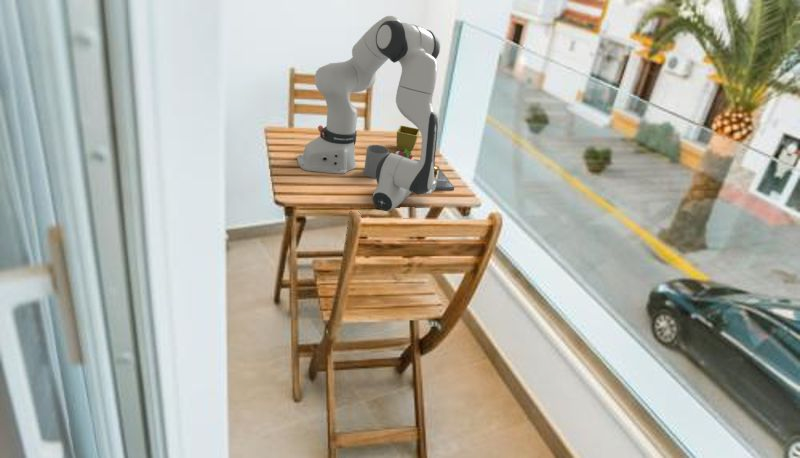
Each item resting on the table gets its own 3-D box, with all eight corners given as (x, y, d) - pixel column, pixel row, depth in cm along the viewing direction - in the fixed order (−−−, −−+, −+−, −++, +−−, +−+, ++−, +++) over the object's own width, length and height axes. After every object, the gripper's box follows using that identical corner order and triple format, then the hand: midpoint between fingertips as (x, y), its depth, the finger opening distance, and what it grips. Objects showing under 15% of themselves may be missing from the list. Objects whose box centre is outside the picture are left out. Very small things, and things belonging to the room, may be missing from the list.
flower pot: (413, 155, 221) (417, 135, 216) (393, 151, 222) (396, 131, 217) (416, 148, 229) (420, 129, 224) (397, 144, 229) (400, 125, 225)
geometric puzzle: (411, 156, 214) (403, 142, 209) (419, 163, 209) (411, 149, 204) (397, 166, 214) (389, 152, 208) (404, 173, 209) (396, 159, 203)
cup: (366, 177, 195) (369, 153, 190) (361, 168, 201) (364, 144, 196) (387, 178, 197) (391, 154, 192) (382, 169, 204) (386, 145, 199)
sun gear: (422, 177, 203) (424, 168, 201) (416, 169, 209) (418, 160, 207) (440, 177, 205) (442, 168, 203) (433, 169, 211) (435, 160, 209)
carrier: (424, 189, 194) (426, 180, 192) (410, 170, 207) (412, 161, 205) (453, 189, 198) (455, 181, 196) (438, 170, 211) (440, 162, 209)
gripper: (430, 186, 174) (443, 172, 186) (376, 168, 180) (392, 156, 191) (427, 202, 178) (440, 188, 189) (373, 184, 183) (389, 171, 194)
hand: (415, 172), depth 190 cm, fingers open, 8 cm apart
